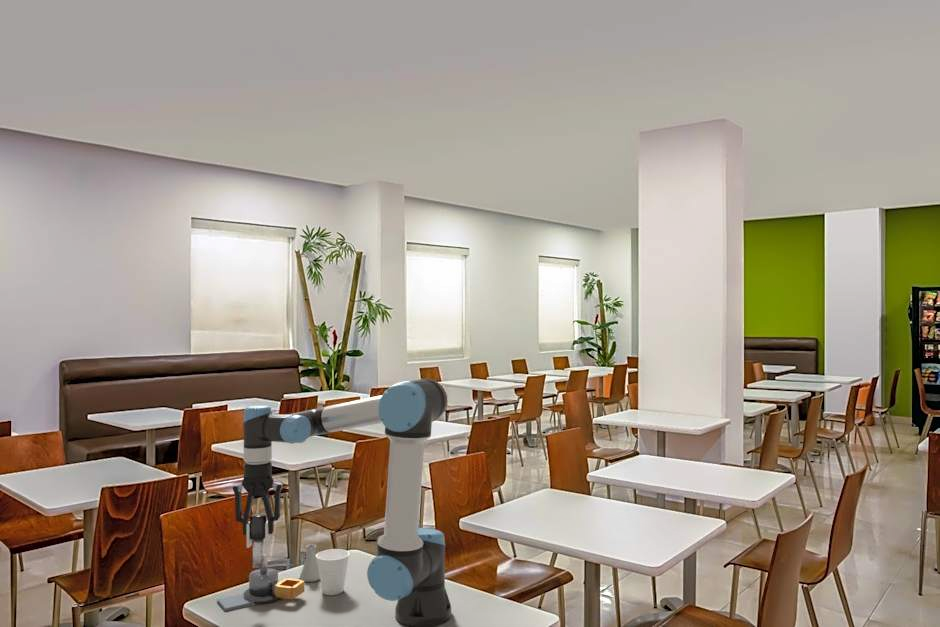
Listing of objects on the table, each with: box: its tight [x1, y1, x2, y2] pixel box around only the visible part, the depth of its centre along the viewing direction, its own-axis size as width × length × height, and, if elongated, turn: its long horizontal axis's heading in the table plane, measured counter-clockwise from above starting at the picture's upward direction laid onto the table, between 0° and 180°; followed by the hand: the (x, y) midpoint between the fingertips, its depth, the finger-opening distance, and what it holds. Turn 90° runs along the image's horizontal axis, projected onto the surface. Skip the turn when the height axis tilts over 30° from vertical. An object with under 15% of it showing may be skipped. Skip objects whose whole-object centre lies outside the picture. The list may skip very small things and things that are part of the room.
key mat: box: [216, 592, 255, 612], centre depth 199 cm, size 8×8×1 cm
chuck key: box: [249, 513, 267, 569], centre depth 196 cm, size 4×4×14 cm
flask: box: [298, 544, 321, 583], centre depth 219 cm, size 7×7×10 cm
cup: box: [316, 548, 351, 596], centre depth 208 cm, size 10×10×11 cm
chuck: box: [248, 553, 305, 600], centre depth 203 cm, size 16×8×10 cm, turn 74°
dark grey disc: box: [243, 588, 282, 605], centre depth 204 cm, size 11×11×2 cm
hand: (258, 545), depth 196 cm, fingers closed on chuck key, 4 cm apart
